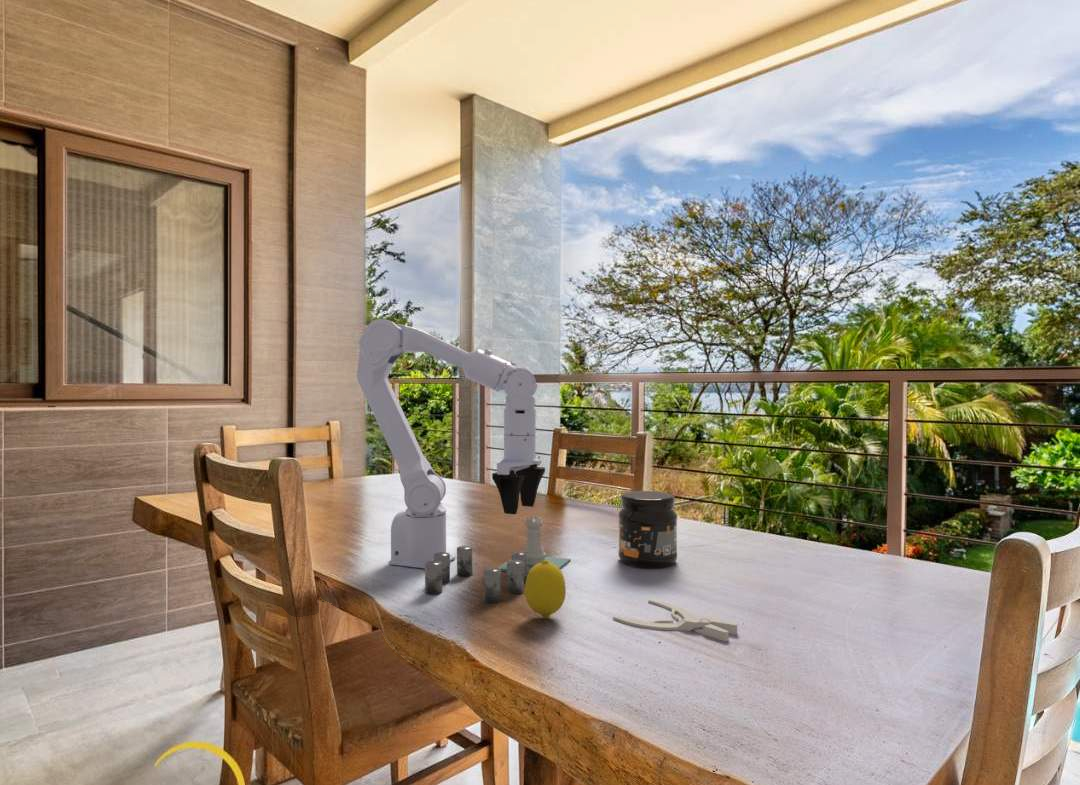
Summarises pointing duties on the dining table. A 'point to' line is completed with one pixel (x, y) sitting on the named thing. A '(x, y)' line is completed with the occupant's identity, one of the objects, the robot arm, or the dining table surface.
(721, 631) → the pliers
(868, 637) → the dining table surface
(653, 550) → the supplement container
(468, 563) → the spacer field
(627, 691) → the dining table surface
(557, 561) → the mat
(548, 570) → the lemon
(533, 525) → the rook chess piece
